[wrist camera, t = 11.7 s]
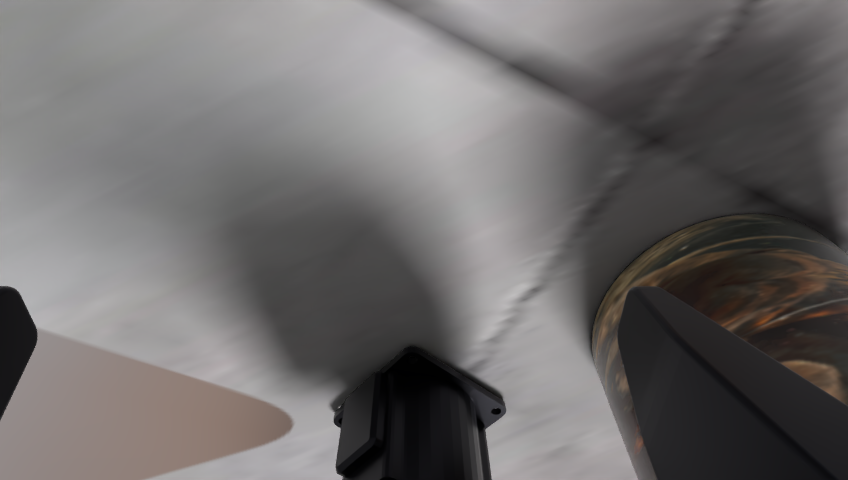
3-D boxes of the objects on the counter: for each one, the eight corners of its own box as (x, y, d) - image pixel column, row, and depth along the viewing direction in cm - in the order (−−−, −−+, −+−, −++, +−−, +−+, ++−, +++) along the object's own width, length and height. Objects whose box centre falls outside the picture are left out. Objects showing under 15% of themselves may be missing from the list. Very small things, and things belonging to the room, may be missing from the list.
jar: (889, 322, 26) (1362, 741, 13) (672, 440, 30) (864, 843, 17) (769, 158, 21) (1309, 548, 8) (535, 325, 25) (654, 751, 13)
